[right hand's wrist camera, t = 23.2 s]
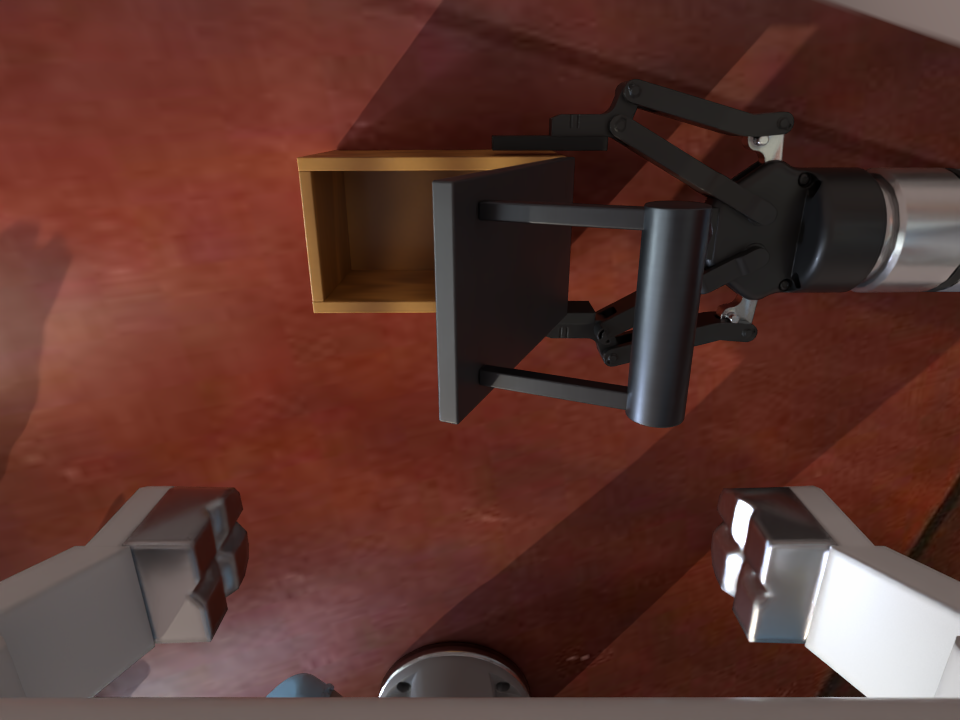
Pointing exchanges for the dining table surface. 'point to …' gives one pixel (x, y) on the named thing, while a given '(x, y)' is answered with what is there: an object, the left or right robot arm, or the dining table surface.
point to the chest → (381, 223)
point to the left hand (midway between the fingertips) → (491, 231)
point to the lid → (556, 289)
